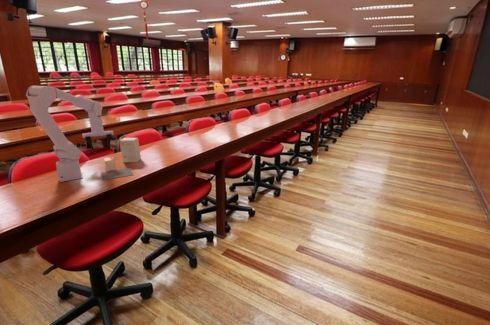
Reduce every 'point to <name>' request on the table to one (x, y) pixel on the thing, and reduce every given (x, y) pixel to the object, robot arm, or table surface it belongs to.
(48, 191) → the table surface
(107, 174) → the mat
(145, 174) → the table surface
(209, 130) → the table surface
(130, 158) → the small box
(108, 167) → the eraser block
